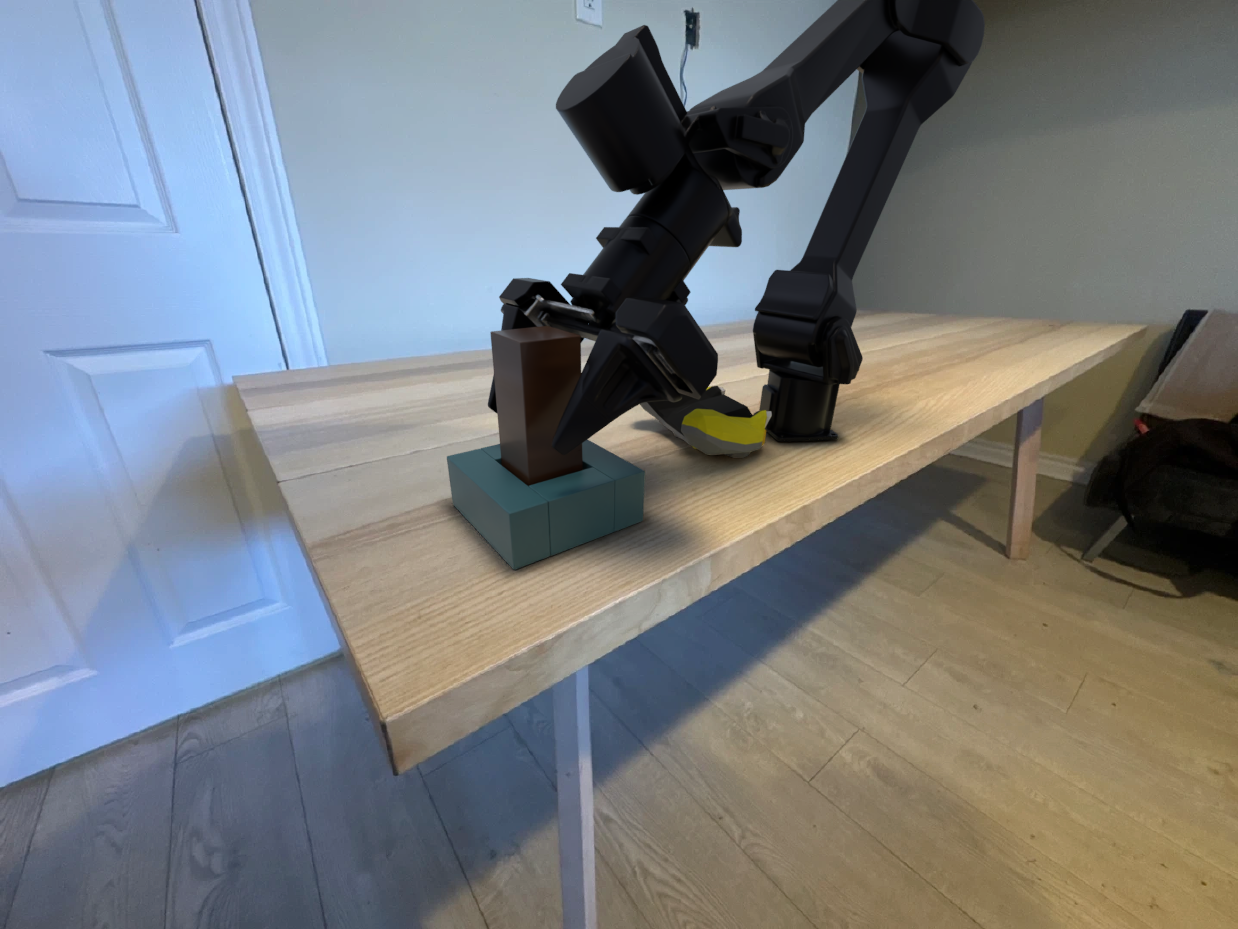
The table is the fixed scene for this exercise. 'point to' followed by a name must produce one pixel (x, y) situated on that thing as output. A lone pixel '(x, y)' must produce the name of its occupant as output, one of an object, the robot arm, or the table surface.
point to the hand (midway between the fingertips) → (522, 428)
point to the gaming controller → (713, 423)
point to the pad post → (535, 399)
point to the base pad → (545, 502)
